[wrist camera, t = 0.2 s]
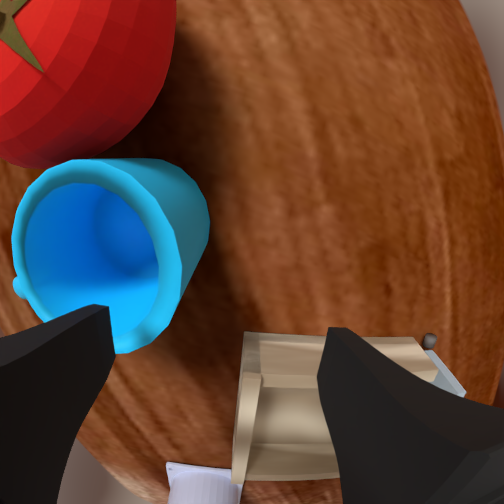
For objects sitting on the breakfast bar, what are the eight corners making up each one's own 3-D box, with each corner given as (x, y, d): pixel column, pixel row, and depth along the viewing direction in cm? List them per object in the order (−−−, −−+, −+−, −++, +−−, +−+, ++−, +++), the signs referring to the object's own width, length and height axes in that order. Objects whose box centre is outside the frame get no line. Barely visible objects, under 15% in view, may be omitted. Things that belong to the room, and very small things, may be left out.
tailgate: (386, 442, 23) (403, 483, 18) (379, 443, 23) (396, 485, 18) (432, 350, 20) (466, 392, 15) (424, 350, 20) (458, 393, 15)
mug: (183, 137, 17) (134, 121, 9) (229, 262, 19) (216, 330, 11) (37, 209, 18) (-43, 238, 10) (80, 310, 20) (22, 372, 13)
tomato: (44, 181, 18) (-79, 211, 7) (40, 23, 14) (-53, -20, 3) (207, 142, 17) (146, 117, 7) (188, -31, 13) (148, -137, 3)
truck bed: (380, 439, 25) (394, 476, 20) (232, 443, 24) (230, 486, 19) (430, 329, 21) (462, 364, 16) (245, 323, 20) (243, 369, 16)
